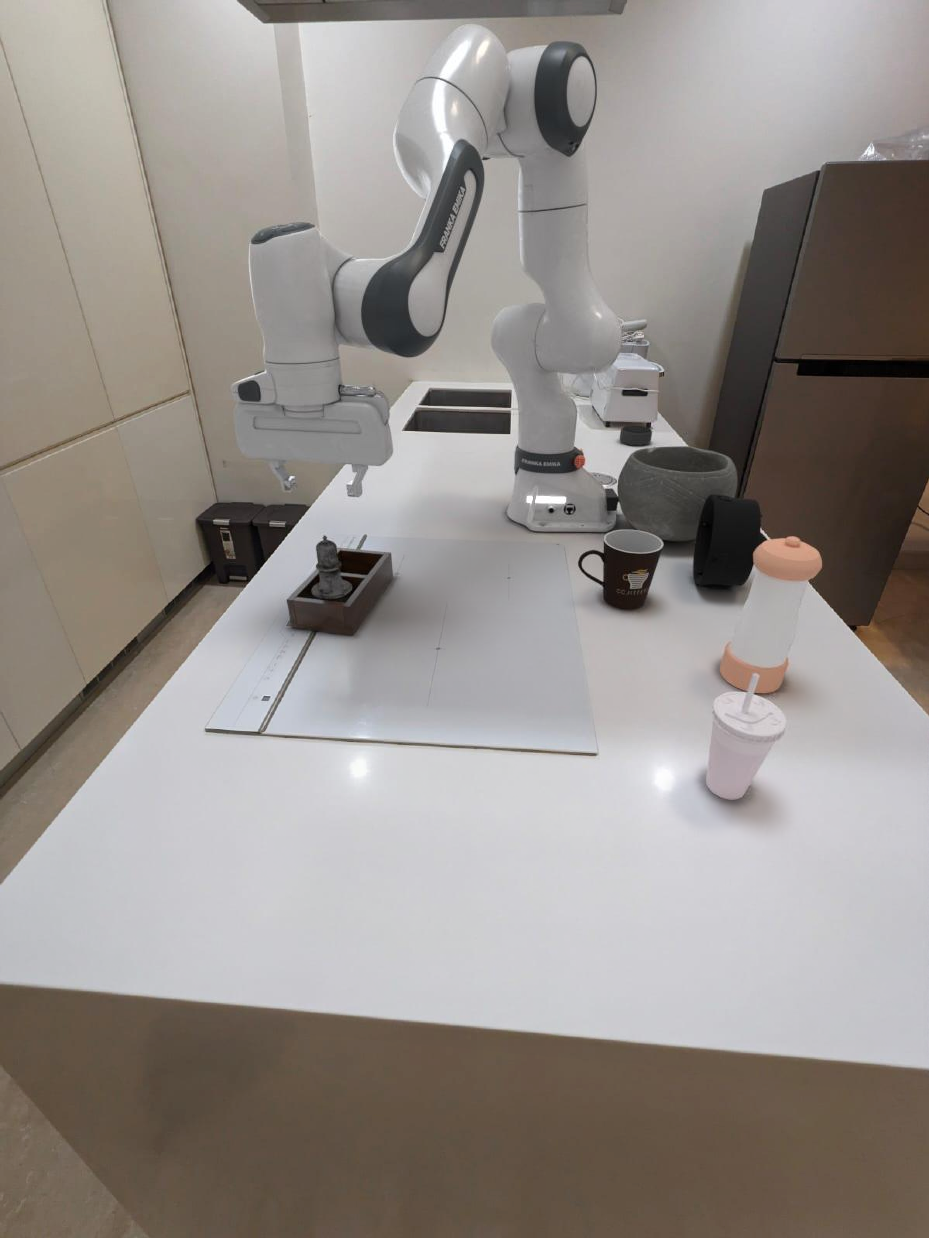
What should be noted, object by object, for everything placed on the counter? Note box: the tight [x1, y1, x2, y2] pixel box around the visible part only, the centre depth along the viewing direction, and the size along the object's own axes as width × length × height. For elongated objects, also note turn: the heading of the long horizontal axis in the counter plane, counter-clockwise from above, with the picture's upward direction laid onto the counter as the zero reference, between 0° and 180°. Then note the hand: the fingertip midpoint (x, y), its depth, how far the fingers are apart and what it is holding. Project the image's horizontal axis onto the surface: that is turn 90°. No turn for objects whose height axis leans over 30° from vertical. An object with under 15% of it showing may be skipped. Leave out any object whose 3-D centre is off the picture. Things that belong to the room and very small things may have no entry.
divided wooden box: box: [286, 546, 394, 637], centre depth 89 cm, size 10×18×5 cm, turn 168°
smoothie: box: [705, 673, 788, 801], centre depth 55 cm, size 6×6×14 cm
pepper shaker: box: [719, 535, 823, 694], centre depth 69 cm, size 7×7×19 cm
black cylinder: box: [692, 494, 768, 589], centre depth 92 cm, size 14×14×10 cm
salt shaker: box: [312, 534, 352, 603], centre depth 83 cm, size 6×6×12 cm
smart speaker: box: [619, 425, 653, 447], centre depth 169 cm, size 9×9×4 cm
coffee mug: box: [577, 529, 665, 611], centre depth 89 cm, size 12×9×10 cm
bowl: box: [616, 445, 738, 542], centre depth 109 cm, size 21×21×15 cm
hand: (322, 493), depth 78 cm, fingers open, 8 cm apart
